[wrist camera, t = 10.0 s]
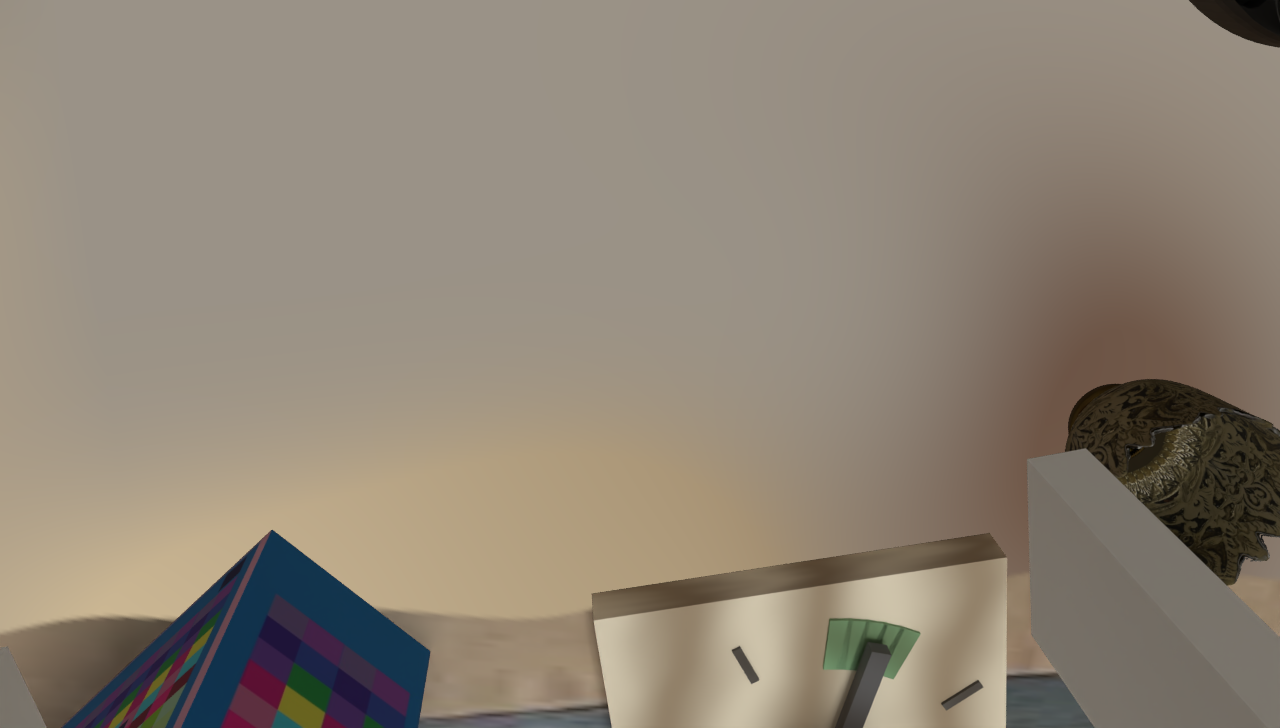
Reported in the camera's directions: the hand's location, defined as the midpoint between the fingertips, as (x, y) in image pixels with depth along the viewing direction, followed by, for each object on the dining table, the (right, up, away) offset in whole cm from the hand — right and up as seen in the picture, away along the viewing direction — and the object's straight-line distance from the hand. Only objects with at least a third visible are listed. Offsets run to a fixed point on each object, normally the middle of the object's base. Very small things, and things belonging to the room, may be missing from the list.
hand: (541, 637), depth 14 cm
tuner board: (+9, -15, +38) cm, 42 cm away
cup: (+21, +1, +33) cm, 39 cm away
